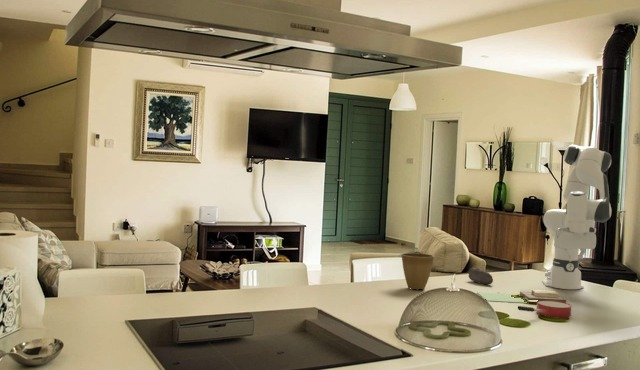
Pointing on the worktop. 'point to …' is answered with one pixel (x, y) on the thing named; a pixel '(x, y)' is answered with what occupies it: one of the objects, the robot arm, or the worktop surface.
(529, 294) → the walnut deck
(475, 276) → the grey stone
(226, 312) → the worktop surface
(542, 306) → the red saucepan
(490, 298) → the green mat
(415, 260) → the plant pot
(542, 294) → the birch tile
